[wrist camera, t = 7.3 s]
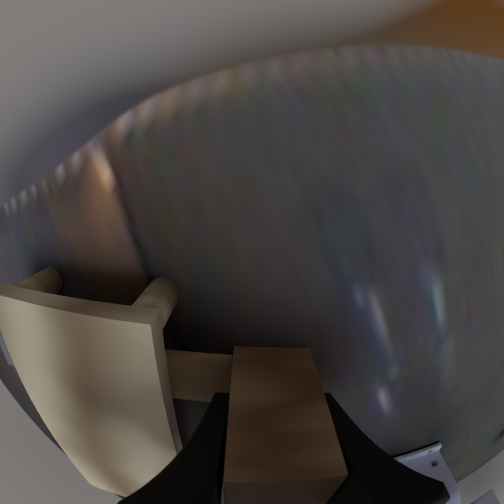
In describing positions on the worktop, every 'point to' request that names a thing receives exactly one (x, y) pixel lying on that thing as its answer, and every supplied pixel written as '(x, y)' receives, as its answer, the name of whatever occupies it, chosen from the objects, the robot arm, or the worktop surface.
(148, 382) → the small wooden table
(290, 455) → the wooden mallet
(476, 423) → the worktop surface
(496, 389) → the worktop surface
